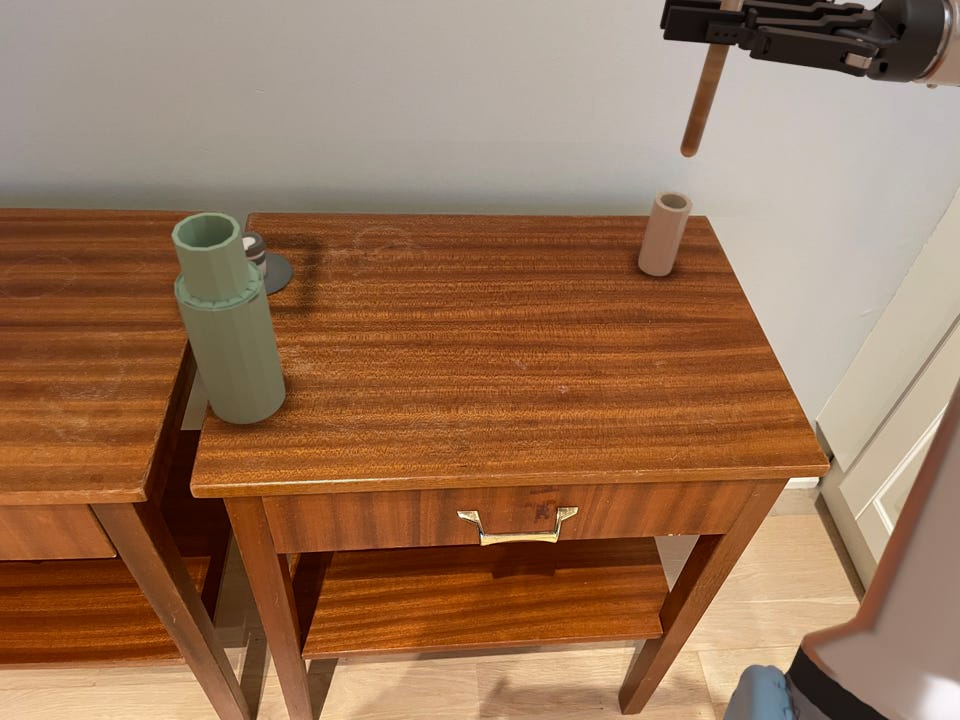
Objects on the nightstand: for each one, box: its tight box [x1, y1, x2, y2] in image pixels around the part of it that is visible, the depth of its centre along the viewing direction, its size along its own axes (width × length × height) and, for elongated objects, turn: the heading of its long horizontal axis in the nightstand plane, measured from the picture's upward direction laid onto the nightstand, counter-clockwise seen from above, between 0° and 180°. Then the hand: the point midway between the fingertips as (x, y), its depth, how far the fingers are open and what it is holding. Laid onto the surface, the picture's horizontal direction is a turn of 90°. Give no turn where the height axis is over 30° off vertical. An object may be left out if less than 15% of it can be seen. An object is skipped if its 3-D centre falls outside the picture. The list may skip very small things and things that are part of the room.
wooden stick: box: [679, 0, 744, 159], centre depth 68 cm, size 2×3×21 cm
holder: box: [637, 190, 694, 277], centre depth 83 cm, size 4×4×9 cm
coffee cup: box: [241, 231, 294, 296], centre depth 79 cm, size 12×12×5 cm
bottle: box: [170, 211, 286, 425], centre depth 62 cm, size 7×7×19 cm
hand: (665, 17), depth 66 cm, fingers closed on wooden stick, 2 cm apart
